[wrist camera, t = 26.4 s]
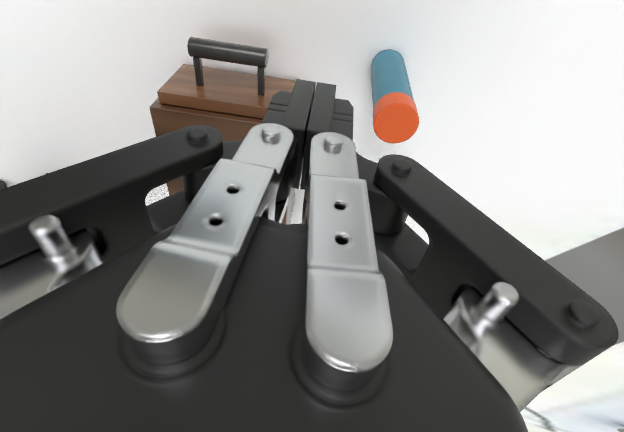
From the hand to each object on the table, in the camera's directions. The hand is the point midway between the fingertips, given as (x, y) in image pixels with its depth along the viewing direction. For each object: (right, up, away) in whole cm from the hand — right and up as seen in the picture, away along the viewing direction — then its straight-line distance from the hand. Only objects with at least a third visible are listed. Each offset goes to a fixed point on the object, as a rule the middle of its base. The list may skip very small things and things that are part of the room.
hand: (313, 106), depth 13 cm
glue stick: (+8, +11, +23) cm, 27 cm away
